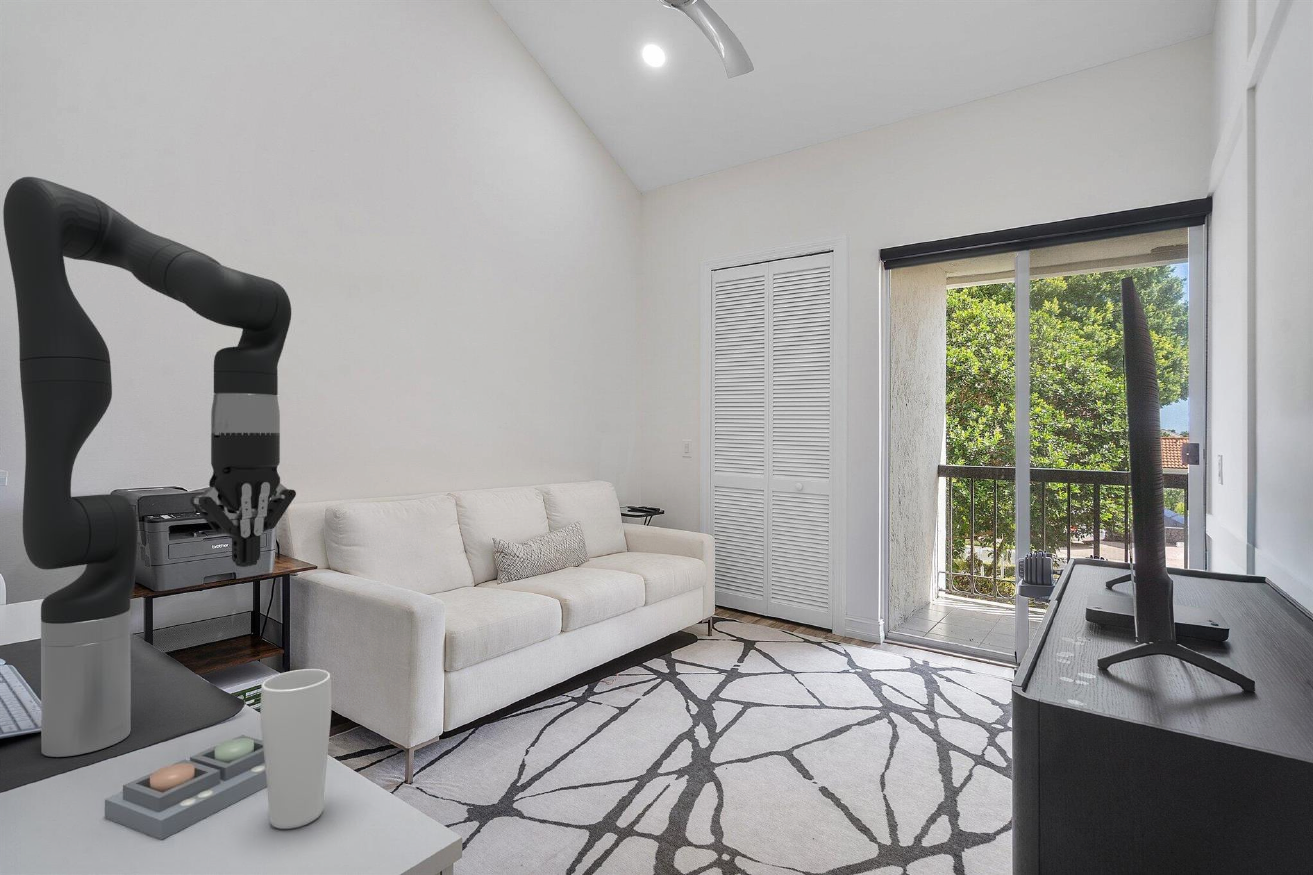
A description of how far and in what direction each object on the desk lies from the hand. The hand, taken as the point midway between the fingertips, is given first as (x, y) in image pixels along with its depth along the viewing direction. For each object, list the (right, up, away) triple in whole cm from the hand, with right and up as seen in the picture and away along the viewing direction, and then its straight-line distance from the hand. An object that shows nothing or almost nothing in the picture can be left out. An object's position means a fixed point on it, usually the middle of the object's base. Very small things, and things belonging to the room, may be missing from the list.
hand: (245, 565), depth 86 cm
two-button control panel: (0, -25, -9) cm, 26 cm away
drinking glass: (+14, -25, -13) cm, 31 cm away
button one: (+2, -22, -5) cm, 23 cm away
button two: (-1, -22, -12) cm, 25 cm away
